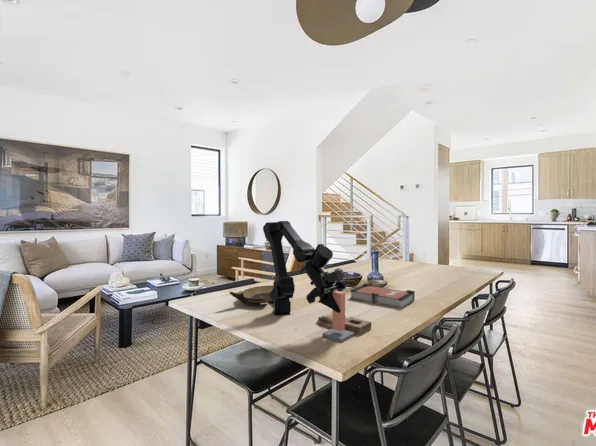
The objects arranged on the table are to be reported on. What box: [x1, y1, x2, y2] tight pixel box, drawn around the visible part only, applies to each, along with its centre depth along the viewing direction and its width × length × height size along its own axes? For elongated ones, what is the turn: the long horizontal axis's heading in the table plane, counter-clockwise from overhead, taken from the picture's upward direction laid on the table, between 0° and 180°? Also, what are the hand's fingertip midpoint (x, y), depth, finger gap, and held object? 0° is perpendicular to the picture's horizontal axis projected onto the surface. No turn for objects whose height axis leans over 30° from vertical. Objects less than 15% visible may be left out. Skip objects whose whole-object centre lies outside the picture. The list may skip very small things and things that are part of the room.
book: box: [349, 283, 416, 309], centre depth 163 cm, size 26×18×5 cm
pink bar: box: [331, 291, 346, 331], centre depth 115 cm, size 4×2×13 cm
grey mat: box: [322, 328, 355, 343], centre depth 115 cm, size 8×8×1 cm
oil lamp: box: [229, 285, 274, 304], centre depth 158 cm, size 22×30×8 cm
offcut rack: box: [316, 311, 372, 335], centre depth 126 cm, size 19×10×3 cm, turn 49°
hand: (341, 311), depth 114 cm, fingers closed on pink bar, 2 cm apart
